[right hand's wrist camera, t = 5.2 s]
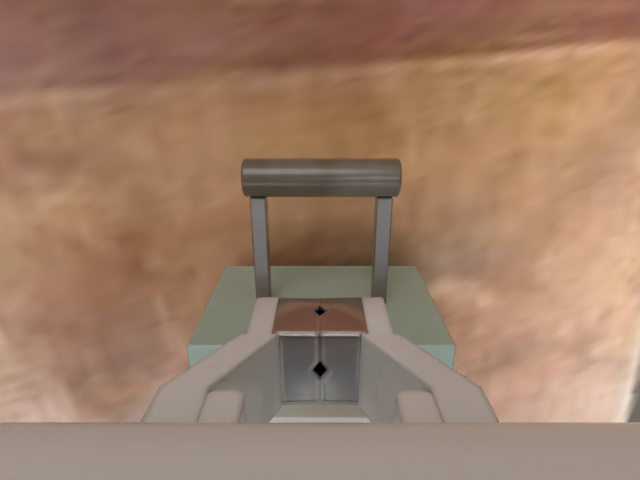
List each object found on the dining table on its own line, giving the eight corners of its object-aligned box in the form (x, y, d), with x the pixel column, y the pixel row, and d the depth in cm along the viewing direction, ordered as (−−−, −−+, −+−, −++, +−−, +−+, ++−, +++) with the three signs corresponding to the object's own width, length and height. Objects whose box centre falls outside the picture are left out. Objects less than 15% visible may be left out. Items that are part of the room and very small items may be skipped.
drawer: (214, 143, 19) (162, 178, 13) (427, 143, 19) (481, 178, 13) (247, 498, 27) (225, 626, 21) (394, 498, 27) (416, 625, 21)
